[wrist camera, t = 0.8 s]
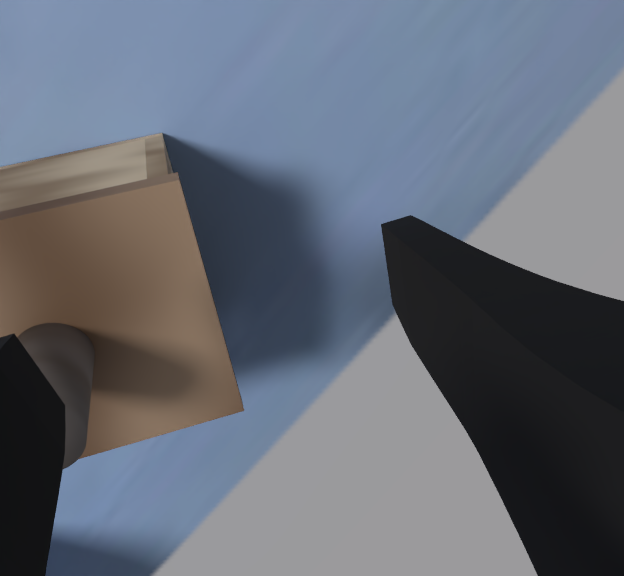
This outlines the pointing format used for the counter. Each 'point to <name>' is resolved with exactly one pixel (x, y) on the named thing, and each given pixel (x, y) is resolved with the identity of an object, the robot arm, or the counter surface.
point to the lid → (117, 313)
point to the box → (83, 171)
